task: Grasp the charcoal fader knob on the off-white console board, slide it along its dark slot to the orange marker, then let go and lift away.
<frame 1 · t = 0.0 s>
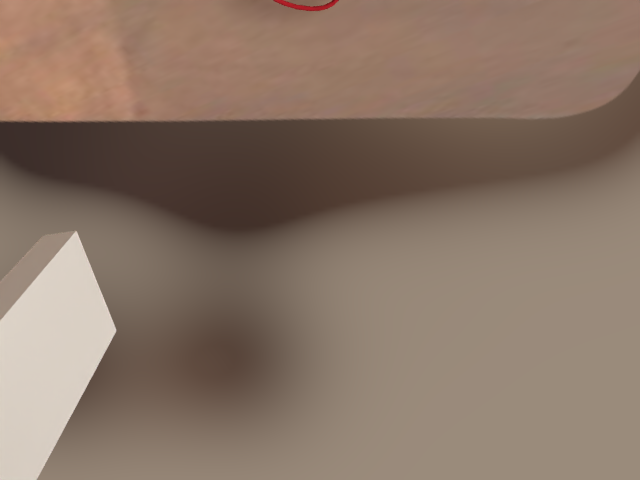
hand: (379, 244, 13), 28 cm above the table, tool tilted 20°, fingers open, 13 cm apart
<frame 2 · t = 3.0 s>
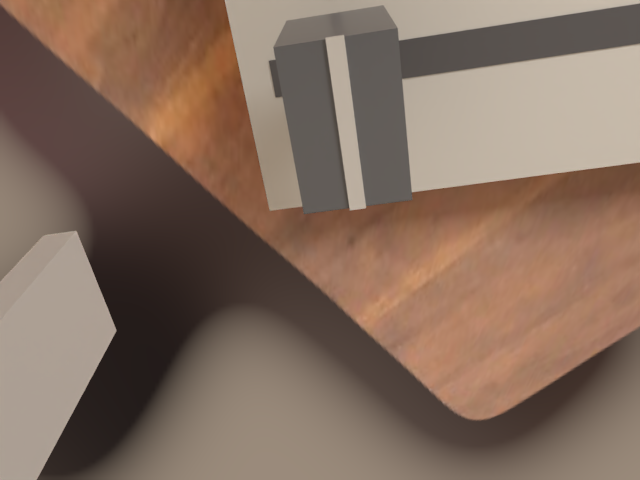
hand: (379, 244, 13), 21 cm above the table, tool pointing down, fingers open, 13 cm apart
console: (495, 32, 30), on the table
fader knob: (344, 94, 24), point 8 cm above the table, slide at -8.0 cm
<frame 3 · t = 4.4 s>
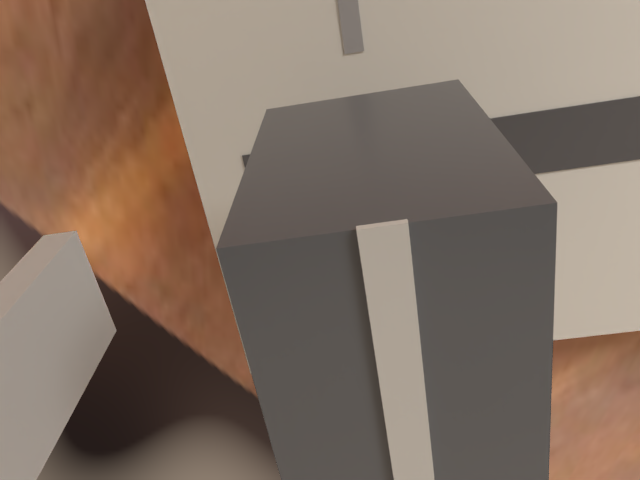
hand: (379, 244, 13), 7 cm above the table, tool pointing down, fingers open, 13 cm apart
console: (616, 96, 18), on the table
fader knob: (382, 254, 12), point 8 cm above the table, slide at -8.0 cm
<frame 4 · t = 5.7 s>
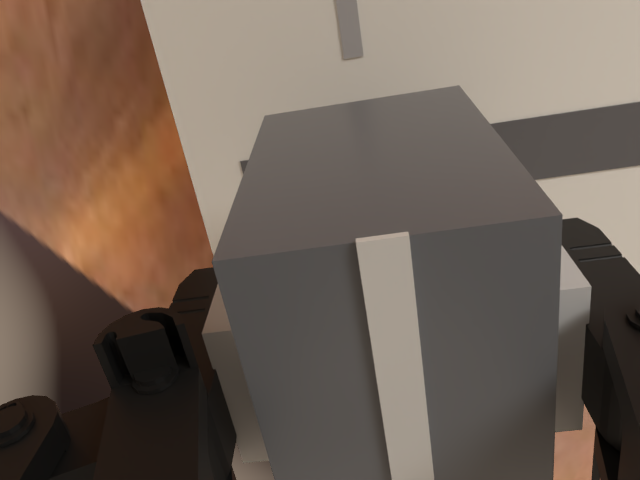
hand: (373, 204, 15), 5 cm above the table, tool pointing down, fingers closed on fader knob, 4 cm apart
console: (617, 100, 18), on the table
fader knob: (382, 263, 12), point 8 cm above the table, slide at -8.0 cm, touching gripper
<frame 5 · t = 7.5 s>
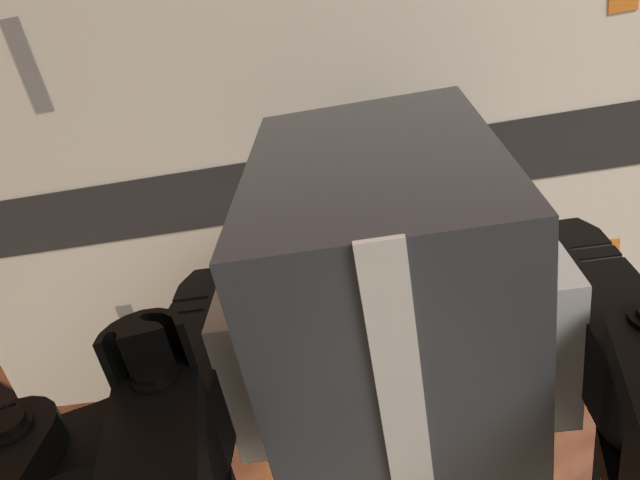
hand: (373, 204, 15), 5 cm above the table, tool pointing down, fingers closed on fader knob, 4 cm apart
console: (353, 141, 19), on the table
fader knob: (381, 264, 12), point 8 cm above the table, slide at 0.3 cm, touching gripper
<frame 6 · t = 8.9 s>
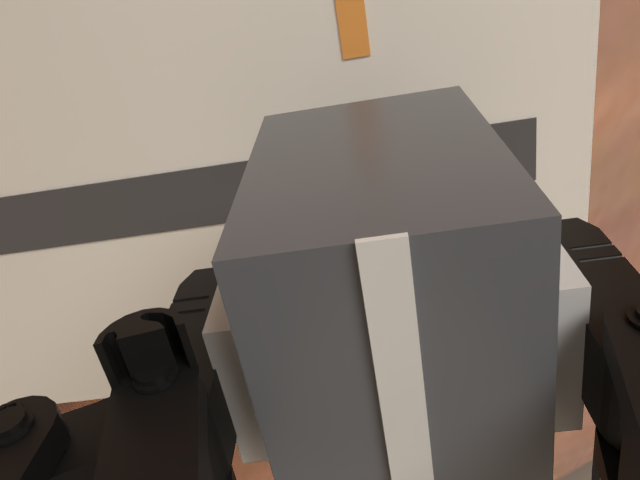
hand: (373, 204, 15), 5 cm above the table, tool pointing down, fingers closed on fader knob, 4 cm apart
console: (160, 169, 20), on the table
fader knob: (382, 263, 12), point 8 cm above the table, slide at 6.9 cm, touching gripper
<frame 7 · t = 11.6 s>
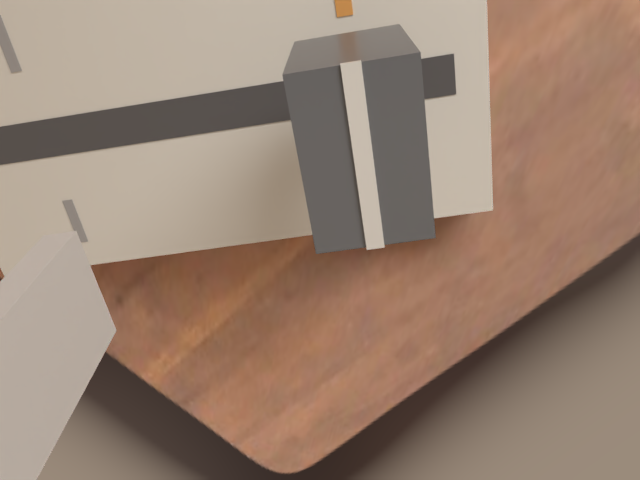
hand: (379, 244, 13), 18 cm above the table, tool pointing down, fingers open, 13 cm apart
console: (217, 97, 30), on the table
fader knob: (358, 120, 22), point 8 cm above the table, slide at 7.0 cm
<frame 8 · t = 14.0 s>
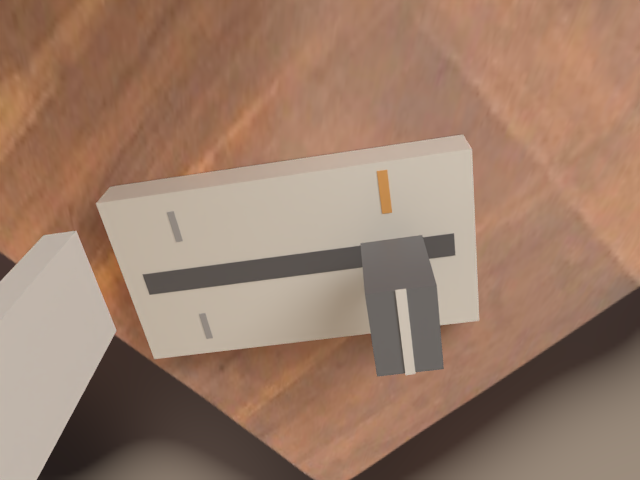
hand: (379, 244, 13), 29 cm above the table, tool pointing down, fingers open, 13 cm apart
console: (298, 245, 46), on the table
fader knob: (398, 290, 38), point 8 cm above the table, slide at 7.0 cm
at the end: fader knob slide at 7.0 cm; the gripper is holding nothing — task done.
